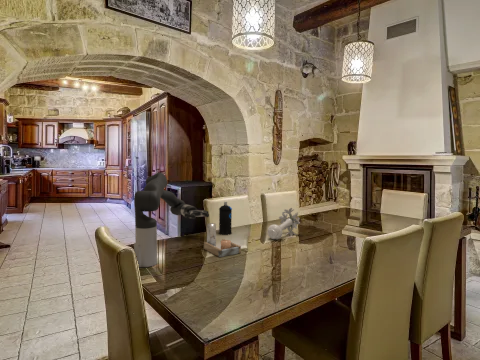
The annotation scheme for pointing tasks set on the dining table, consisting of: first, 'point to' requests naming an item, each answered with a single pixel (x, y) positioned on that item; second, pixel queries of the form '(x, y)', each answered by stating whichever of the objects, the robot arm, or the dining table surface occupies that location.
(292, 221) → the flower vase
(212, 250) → the channel
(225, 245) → the cylinder
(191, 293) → the dining table surface
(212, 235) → the shaft
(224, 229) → the aerosol can
